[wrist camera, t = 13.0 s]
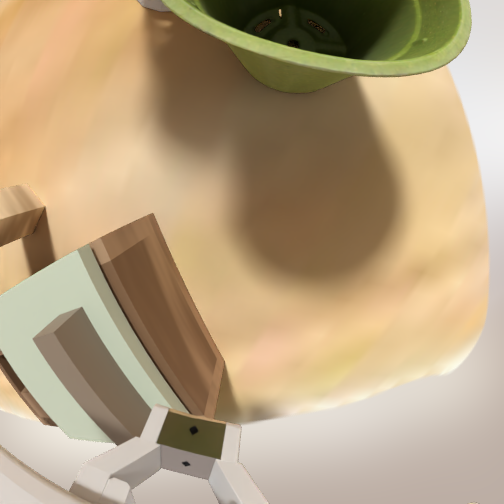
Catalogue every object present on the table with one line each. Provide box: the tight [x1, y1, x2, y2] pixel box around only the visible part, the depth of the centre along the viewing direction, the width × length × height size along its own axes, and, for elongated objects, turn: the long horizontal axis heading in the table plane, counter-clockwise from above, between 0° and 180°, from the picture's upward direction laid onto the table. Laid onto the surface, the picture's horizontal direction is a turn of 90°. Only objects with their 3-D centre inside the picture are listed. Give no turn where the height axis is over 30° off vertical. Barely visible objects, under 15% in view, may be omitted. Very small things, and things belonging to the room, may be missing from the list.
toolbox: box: [0, 213, 225, 427], centre depth 18 cm, size 20×13×7 cm, turn 111°
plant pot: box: [161, 0, 472, 93], centre depth 9 cm, size 12×12×11 cm
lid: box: [0, 244, 190, 446], centre depth 12 cm, size 13×13×4 cm
